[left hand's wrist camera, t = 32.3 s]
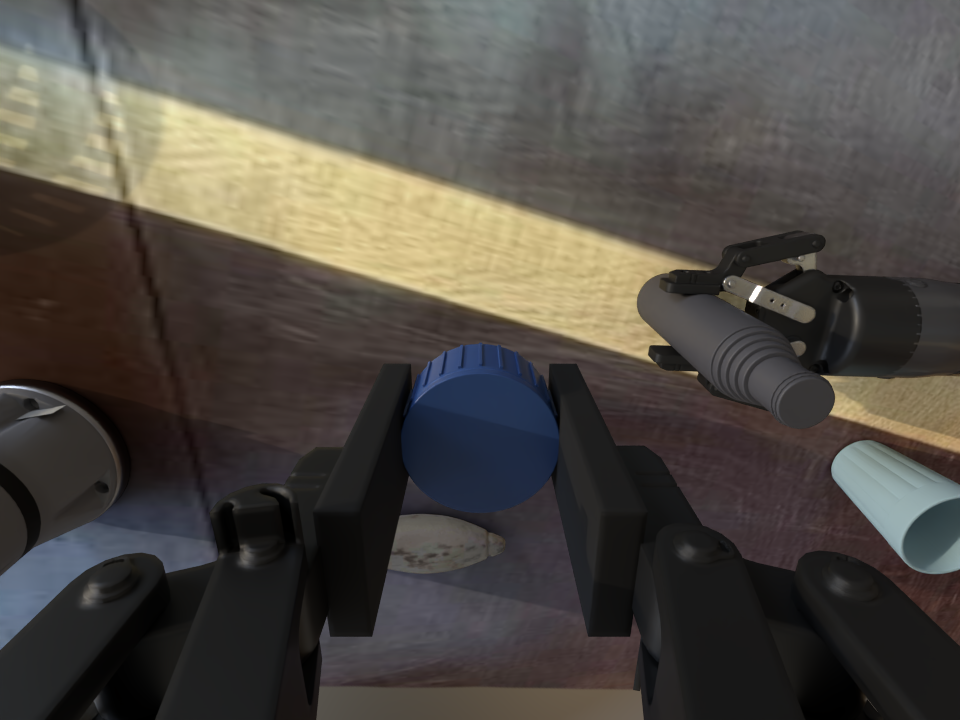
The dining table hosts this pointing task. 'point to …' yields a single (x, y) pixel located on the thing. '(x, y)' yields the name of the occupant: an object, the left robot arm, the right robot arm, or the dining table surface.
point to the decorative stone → (440, 544)
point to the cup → (904, 504)
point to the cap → (480, 429)
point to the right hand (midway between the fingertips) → (658, 320)
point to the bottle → (737, 354)
